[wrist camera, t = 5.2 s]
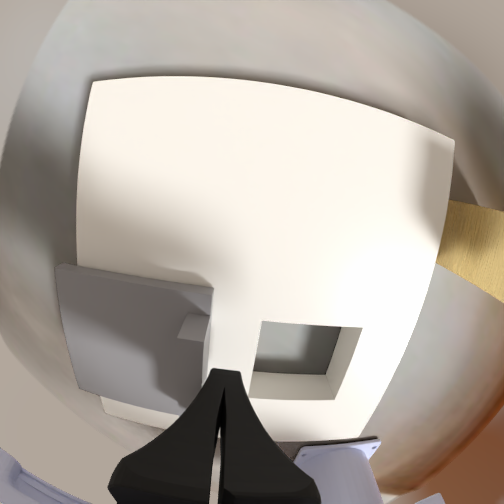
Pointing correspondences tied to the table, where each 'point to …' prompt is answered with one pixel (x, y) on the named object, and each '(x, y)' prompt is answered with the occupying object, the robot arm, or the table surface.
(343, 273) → the socket base
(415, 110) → the table surface
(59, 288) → the panel
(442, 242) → the peg
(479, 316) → the table surface
